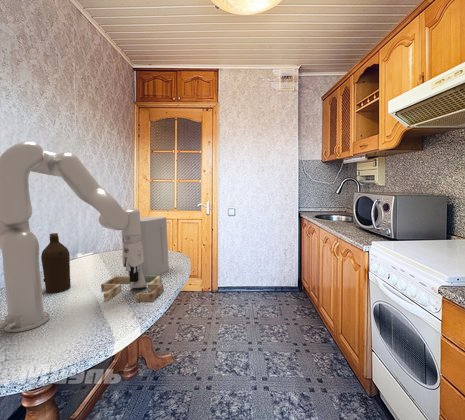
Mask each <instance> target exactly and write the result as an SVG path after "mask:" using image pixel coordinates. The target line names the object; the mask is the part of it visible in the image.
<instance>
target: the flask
mask: <svg viewBox="0 0 465 420" xmlns="http://www.w3.org/2000/svg"><path fill="white" fill-rule="evenodd" d="M138 279H139V280H138V281H137V282H131V283H130V284H129V286H128V287H129V289H140V288H141V289H142V288H146V287H148V284H147V282H146V281H145V279H144V276H143V273H142V264H140V265H139V270H138Z"/></svg>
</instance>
